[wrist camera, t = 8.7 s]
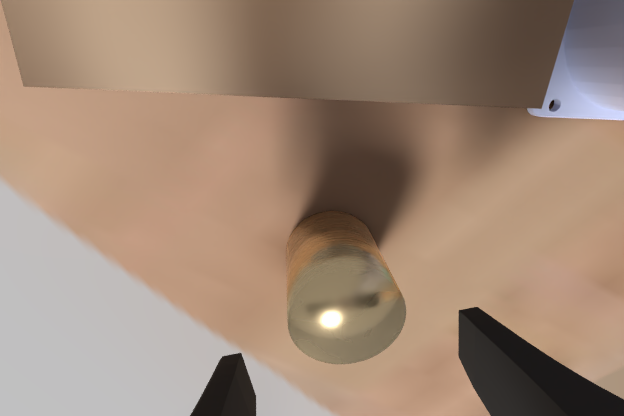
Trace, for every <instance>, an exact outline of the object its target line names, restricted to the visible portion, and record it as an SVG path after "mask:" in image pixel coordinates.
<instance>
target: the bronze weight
mask: <svg viewBox="0 0 624 416" xmlns="http://www.w3.org/2000/svg"><path fill="white" fill-rule="evenodd" d="M286 266H287V314H288V329H289V333H290V336H291V338H292V340H293V342H294V343H295V345H296V346H297V347H298V348H299V349H300V350H301V351H302V352H303V353H305V354H306V355H308V356H309V357H311V358H313V359H315V360H318V361H321V362H325V363H331V364H351V363H356V362H360V361H364V360H366V359H369V358H371V357H373V356H375V355H377V354H379V353H381V352H382V351H384V350H385V349H386V348H387V347H389V346H390V345H391V344H392V343H393V342H394V340H395V339H396V338H397V337H398V335H399V334H400V332H401V330H402V328H403V325H404V322H405V318H406V306H405V301H404V298H403V296H402V294H401V292H400V290H399V288H398V286H397V284H396V282H395V280H394V278H393V276H392V274H391V272H390V270H389V268H388V266H387V264H386V262H385V261H384V259H383V257H382V255H381V253H380V251H379V249H378V247H377V245H376V243H375V241H374V239H373V237H372V235H371V233H370V231H369V230H368V228H367V227H366V225H365V224H364V223H363V222H362V221H361V220H359V219H358V218H356V217H355V216H353V215H351V214H348V213H344V212H339V211H326V212H321V213H317V214H314V215H312V216H310V217H308V218H306V219H305V220H303V221H302V222H301V223H300V224H299V225H298V226H297V227H296V228H295V229H294V230H293V232H292V233H291V235H290V237H289V240H288V243H287V248H286Z"/></svg>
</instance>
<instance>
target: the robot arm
mask: <svg viewBox="0 0 624 416" xmlns="http://www.w3.org/2000/svg"><path fill="white" fill-rule="evenodd" d="M552 100H554V105H553V107H552V108H551V109H550V110H549V104H550V102H551V101H552ZM527 110H528V112H529V113H530V114H531V115H534V116H538V117H558V118H582V119H607V120H624V0H574V2H573V6H572V9H571V12H570V16H569V19H568V22H567V26H566V29H565V32H564V36H563V39H562V42H561V46H560V49H559V52H558V56H557V59H556V62H555V66H554V69H553V72H552V76H551V79H550V82H549V86H548V89H547V92H546V96H545V99H544V102H543V106H542V109H535V108H527ZM459 358H460V360H461V363H462V365H463V367H464V369H465V371H466V373H467V375H468V377H469V379H470V381H471V383H472V385H473V387H474V389H475V391H476V392H477V394H478V396H479V397H480V399H481V400H482V402H483V404H484V405H485V407H486V409H487V410H488V412H489V413H490V415H491V416H624V400H623V399H622V398H620V397H618V396H616V395H614V394H612V393H611V392H609V391H607V390H605V389H603V388H601V387H599V386H598V385H596V384H594V383H592V382H591V381H589V380H587V379H585V378H584V377H582V376H580V375H579V374H577V373H575V372H574V371H572V370H570V369H569V368H567V367H565V366H564V365H562V364H560V363H559V362H557V361H556V360H554V359H553V358H551V357H549V356H548V355H546V354H545V353H543V352H542V351H540V350H539V349H537V348H536V347H534V346H533V345H531V344H530V343H528V342H527V341H525V340H524V339H522V338H521V337H519V336H518V335H517V334H515V333H514V332H512V331H511V330H509V329H508V328H506V327H505V326H504V325H502V324H501V323H499V322H498V321H497V320H495V319H494V318H492V317H491V316H489V315H488V314H487V313H485V312H484V311H482V310H481V309H479V308H478V307H474V308H469V309H464V310H459ZM190 416H256V395H255V392H254V389H253V386H252V383H251V380H250V377H249V375H248V372H247V369H246V366H245V363H244V360H243V357H242V354H241V353H238V354H233V355H228V356H223V357H222V358H221V359H220V361H219V363H218V365H217V367H216V369H215V371H214V373H213V375H212V377H211V379H210V381H209V382H208V384H207V386H206V388H205V390H204V392H203V394H202V396H201V397H200V399H199V401H198V403H197V405H196V406H195V408H194V410H193V412H192V413H191V415H190Z"/></svg>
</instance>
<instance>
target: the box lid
mask: <svg viewBox="0 0 624 416" xmlns="http://www.w3.org/2000/svg"><path fill="white" fill-rule="evenodd" d="M1 2H2V6H3V10H4V14H5V18H6V21H7V25H8V29H9V33H10V36H11V40H12V44H13V48H14V52H15V55H16V59H17V63H18V67H19V70H20V74H21V78H22V82H23V86H25V87H48V88H71V89H95V90H118V91H141V92H164V93H187V94H210V95H234V96H257V97H280V98H303V99H326V100H350V101H373V102H396V103H419V104H442V105H465V106H489V107H512V108H535V109H542V106H543V102H544V99H545V96H546V92H547V89H548V86H549V82H550V79H551V76H552V72H553V69H554V66H555V62H556V59H557V56H558V52H559V49H560V46H561V42H562V39H563V36H564V32H565V29H566V26H567V22H568V19H569V16H570V12H571V9H572V6H573V2H574V0H1Z"/></svg>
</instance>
